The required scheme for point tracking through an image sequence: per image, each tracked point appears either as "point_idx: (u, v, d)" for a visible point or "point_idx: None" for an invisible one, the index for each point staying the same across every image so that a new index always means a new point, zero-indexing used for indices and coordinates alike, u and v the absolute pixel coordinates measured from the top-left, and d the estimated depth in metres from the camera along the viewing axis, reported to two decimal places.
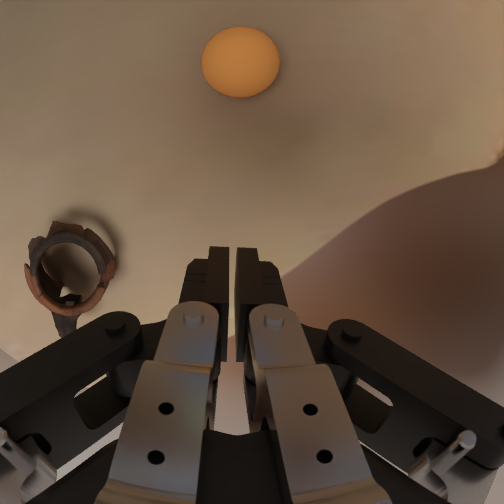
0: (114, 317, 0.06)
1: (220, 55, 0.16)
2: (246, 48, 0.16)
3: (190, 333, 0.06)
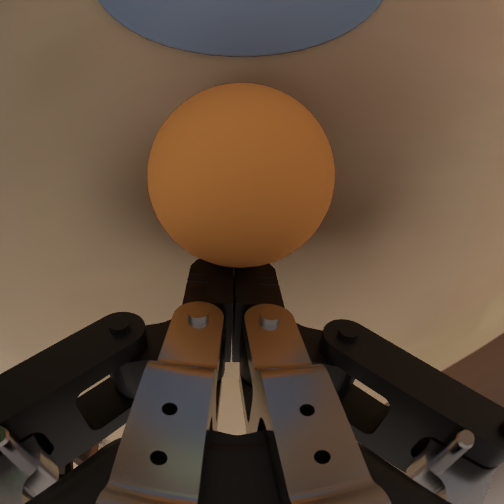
0: (118, 318, 0.06)
1: (204, 91, 0.07)
2: (261, 85, 0.08)
3: (194, 334, 0.06)
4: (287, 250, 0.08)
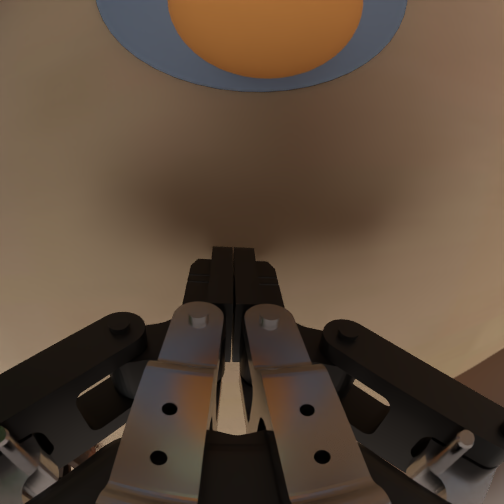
0: (118, 318, 0.06)
1: None
2: None
3: (195, 333, 0.06)
4: None
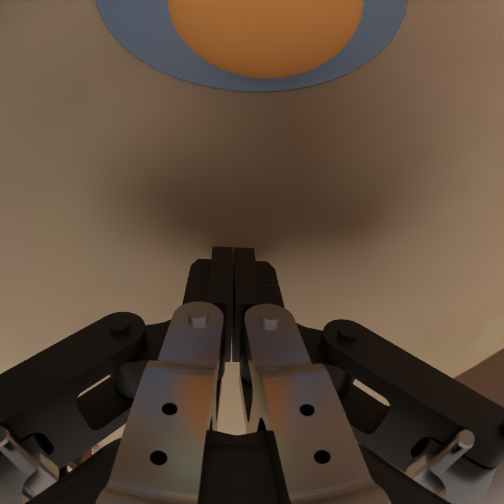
0: (118, 318, 0.06)
1: None
2: None
3: (195, 333, 0.06)
4: None
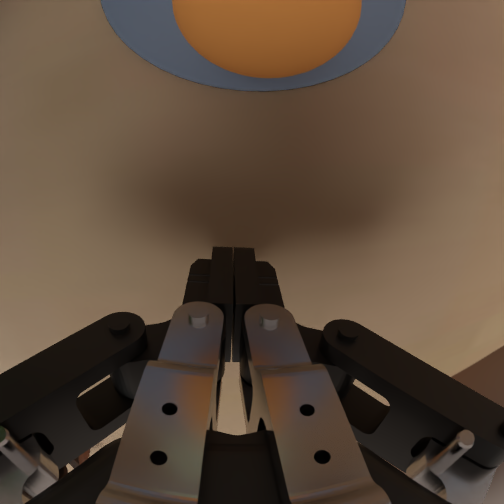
0: (118, 318, 0.06)
1: None
2: None
3: (194, 334, 0.06)
4: None
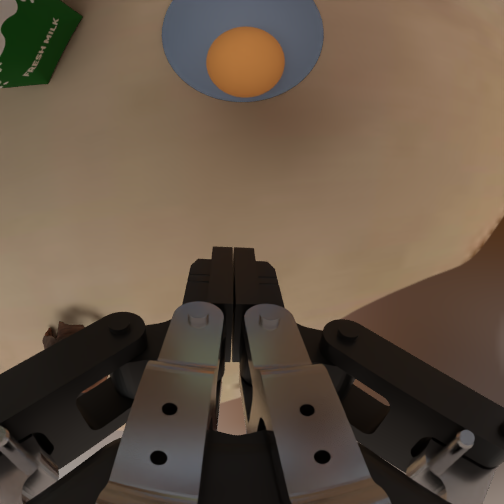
0: (118, 318, 0.06)
1: None
2: None
3: (195, 334, 0.06)
4: None
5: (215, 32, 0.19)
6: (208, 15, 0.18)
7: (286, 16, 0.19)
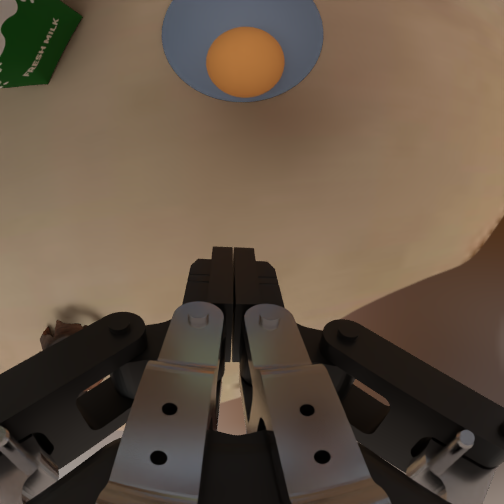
0: (118, 318, 0.06)
1: None
2: None
3: (195, 334, 0.06)
4: None
5: (215, 32, 0.19)
6: (208, 15, 0.18)
7: (286, 16, 0.19)
